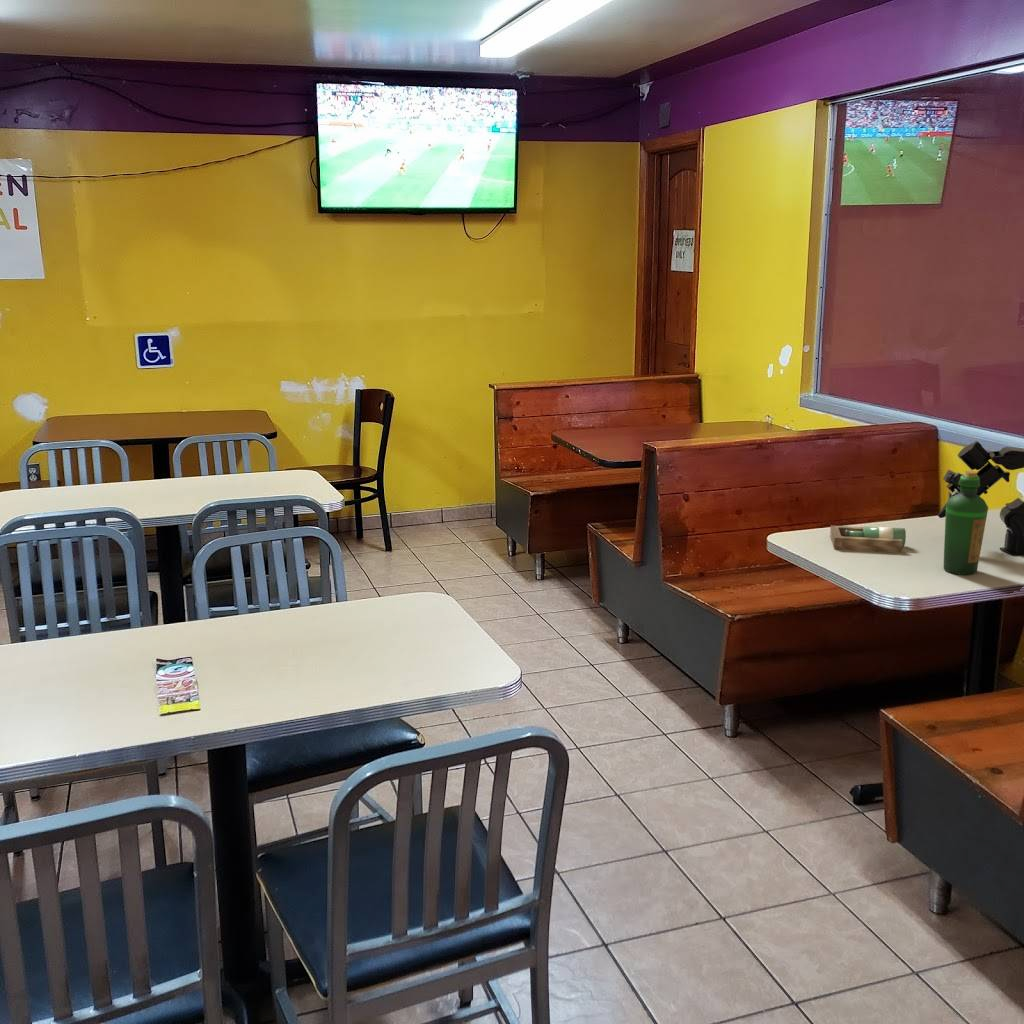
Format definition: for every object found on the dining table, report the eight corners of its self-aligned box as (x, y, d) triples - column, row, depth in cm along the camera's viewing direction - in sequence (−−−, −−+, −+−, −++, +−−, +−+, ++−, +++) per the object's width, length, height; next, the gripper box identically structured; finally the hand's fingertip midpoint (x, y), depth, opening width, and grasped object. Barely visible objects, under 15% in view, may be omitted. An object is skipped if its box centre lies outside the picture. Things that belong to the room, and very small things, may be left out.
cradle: (894, 539, 314) (895, 528, 313) (901, 552, 301) (902, 541, 300) (829, 536, 318) (830, 525, 317) (834, 549, 305) (834, 537, 304)
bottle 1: (906, 530, 302) (847, 528, 305) (904, 548, 304) (845, 545, 307) (903, 526, 307) (845, 523, 311) (901, 543, 309) (843, 540, 312)
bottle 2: (987, 576, 278) (999, 476, 271) (947, 576, 279) (958, 476, 272) (971, 565, 289) (982, 468, 282) (933, 565, 289) (943, 468, 282)
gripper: (956, 455, 306) (914, 490, 311) (969, 468, 289) (925, 505, 294) (982, 481, 307) (940, 516, 312) (997, 495, 289) (952, 532, 294)
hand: (939, 516), depth 303 cm, fingers closed
